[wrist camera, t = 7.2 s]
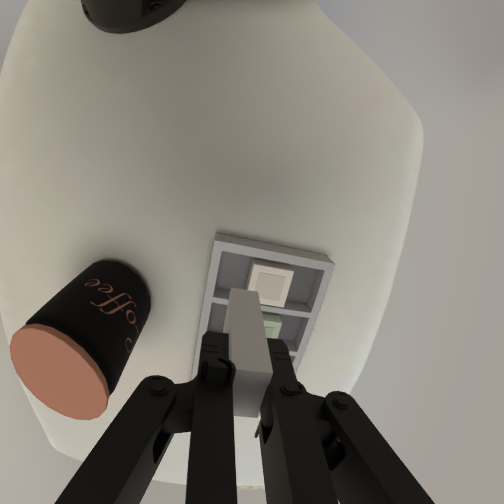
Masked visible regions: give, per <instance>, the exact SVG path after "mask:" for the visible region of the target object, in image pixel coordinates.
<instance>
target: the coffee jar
mask: <svg viewBox="0 0 504 504" xmlns="http://www.w3.org/2000/svg"><path fill="white" fill-rule="evenodd" d="M149 312H150V297H149V294H148V292H147V289H146V286H145V284H144V283H143V281H142V280H141V278H140V277H139V276H138V274H136V273H135V272H134V271H133V270H131V269H130V268H129V267H128V266H125V265H123V264H121V263H119V262H114V261H105V260H104V261H100V262H96V263H93V264H92V265H91V266H89V267H88V268H87V269H85V270H84V271H83V272H82V273H81V274H79V275H78V276H77V277H76V278H75V279H74V280H72V281H71V282H70V283H69V284H68V285H66V286H65V287H64V288H63V289H62V290H61V291H60V292H58V293H57V294H56V295H55V296H54V297H53V298H52V299H51V300H49V301H48V302H47V303H46V304H45V305H44V306H43V307H42V308H41V309H40V310H38V311H37V312H36V313H35V314H34V315H33V316H32V317H31V318H30V319H29V320H28V321H27V322H26V325H24V326H23V327H22V328H21V329H19V330H18V331H17V332H16V333H15V334H14V335H13V337H12V340H11V344H10V353H11V359H12V362H13V365H14V367H15V370H16V372H17V374H18V375H19V377H20V378H21V380H22V382H23V383H24V385H25V386H26V387H27V388H28V389H29V390H30V391H31V392H32V394H33V395H34V396H35V397H36V398H38V399H39V400H40V401H41V402H43V403H44V404H45V405H46V406H48V407H49V408H51V409H53V410H54V411H56V412H58V413H60V414H62V415H64V416H67V417H71V418H74V419H79V420H91V419H94V418H97V417H100V415H101V414H102V413H103V412H104V411H105V410H106V408H107V405H108V399H109V396H110V395H111V394H112V393H113V391H114V390H115V388H116V385H117V383H118V381H119V379H120V376H121V374H122V372H123V370H124V367H125V365H126V363H127V361H128V359H129V356H130V354H131V352H132V350H133V348H134V346H135V344H136V341H137V339H138V337H139V335H140V333H141V331H142V329H143V327H144V325H145V323H146V321H147V318H148V315H149Z"/></svg>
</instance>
